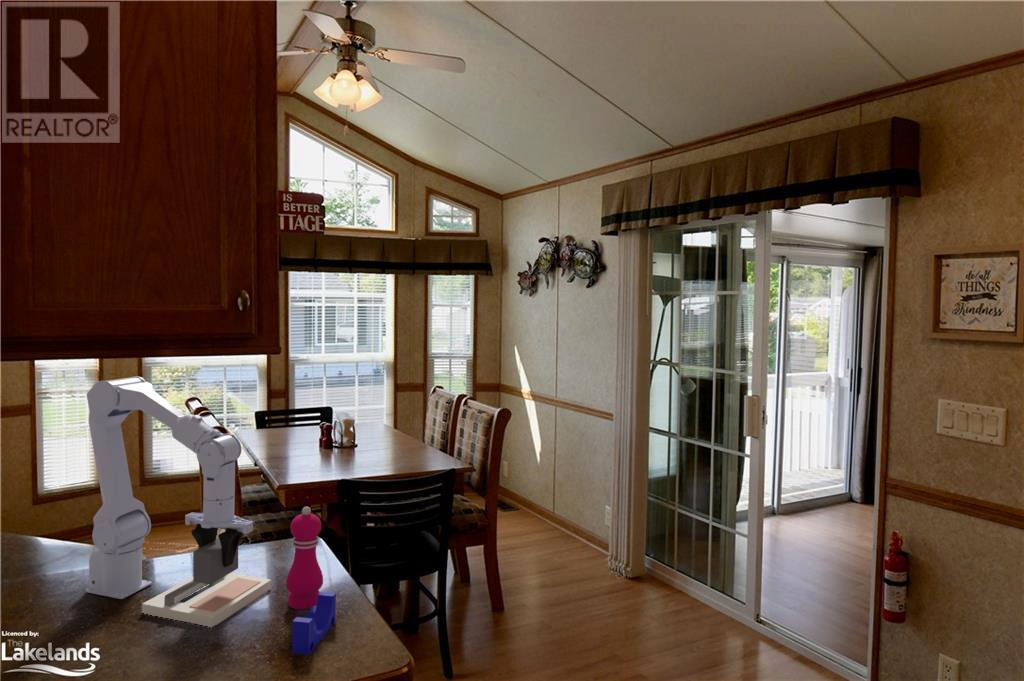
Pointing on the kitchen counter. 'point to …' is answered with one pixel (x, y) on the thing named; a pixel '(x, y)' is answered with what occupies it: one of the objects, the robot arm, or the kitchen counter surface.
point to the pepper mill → (304, 562)
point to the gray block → (211, 563)
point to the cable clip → (314, 624)
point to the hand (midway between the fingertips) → (218, 563)
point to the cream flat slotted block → (207, 599)
